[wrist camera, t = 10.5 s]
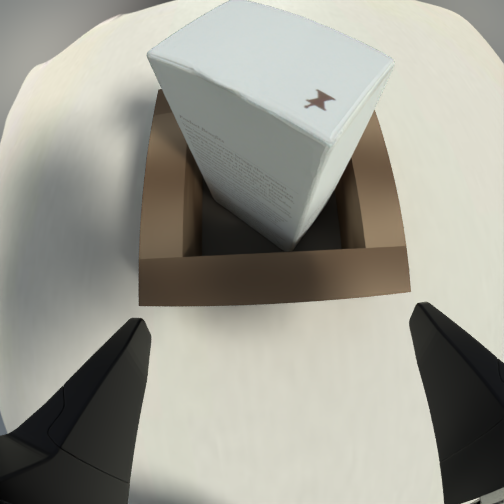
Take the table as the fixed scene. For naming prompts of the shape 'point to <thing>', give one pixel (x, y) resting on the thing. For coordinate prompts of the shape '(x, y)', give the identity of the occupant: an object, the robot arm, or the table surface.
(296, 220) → the skincare box
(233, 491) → the table surface
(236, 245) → the socket block
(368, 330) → the table surface
